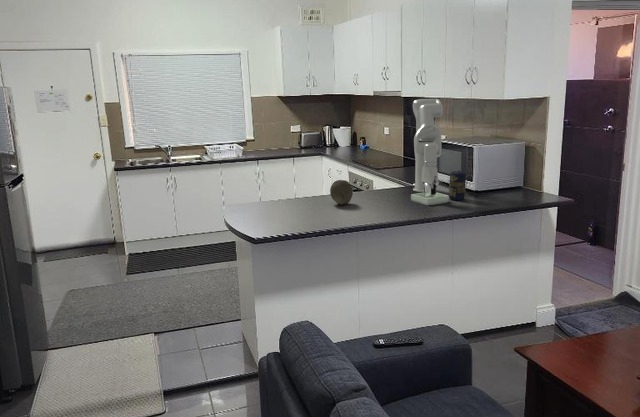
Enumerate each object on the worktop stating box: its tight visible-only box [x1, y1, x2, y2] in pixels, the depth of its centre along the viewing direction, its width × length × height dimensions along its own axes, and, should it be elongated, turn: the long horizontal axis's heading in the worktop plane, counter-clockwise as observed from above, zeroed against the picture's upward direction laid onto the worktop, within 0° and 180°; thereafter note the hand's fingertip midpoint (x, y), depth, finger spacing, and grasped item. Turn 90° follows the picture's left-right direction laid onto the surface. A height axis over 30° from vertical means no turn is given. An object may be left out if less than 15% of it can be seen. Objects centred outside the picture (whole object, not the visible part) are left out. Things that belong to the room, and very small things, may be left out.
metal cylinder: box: [425, 183, 435, 197], centre depth 315 cm, size 6×6×8 cm
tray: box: [410, 192, 450, 206], centre depth 316 cm, size 16×16×4 cm
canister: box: [448, 170, 467, 201], centre depth 317 cm, size 10×10×18 cm
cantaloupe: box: [329, 179, 354, 206], centre depth 315 cm, size 14×14×15 cm
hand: (429, 193), depth 315 cm, fingers closed on metal cylinder, 6 cm apart
